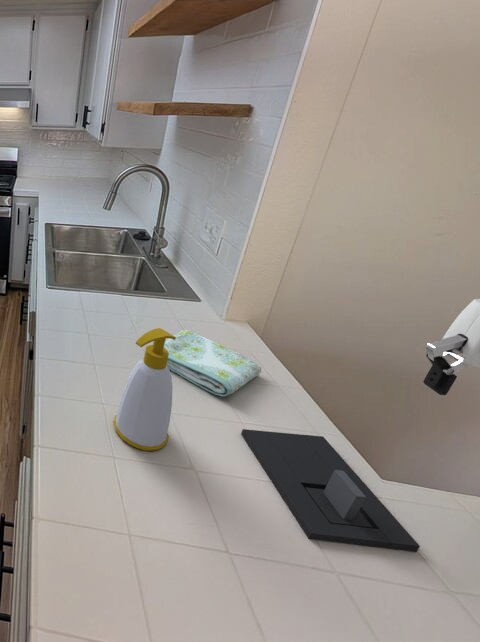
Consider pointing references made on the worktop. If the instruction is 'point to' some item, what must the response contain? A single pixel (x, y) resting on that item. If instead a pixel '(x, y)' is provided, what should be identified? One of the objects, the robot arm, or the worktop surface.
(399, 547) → the big pad
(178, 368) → the towel
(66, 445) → the worktop surface
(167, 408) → the soap bottle
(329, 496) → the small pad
